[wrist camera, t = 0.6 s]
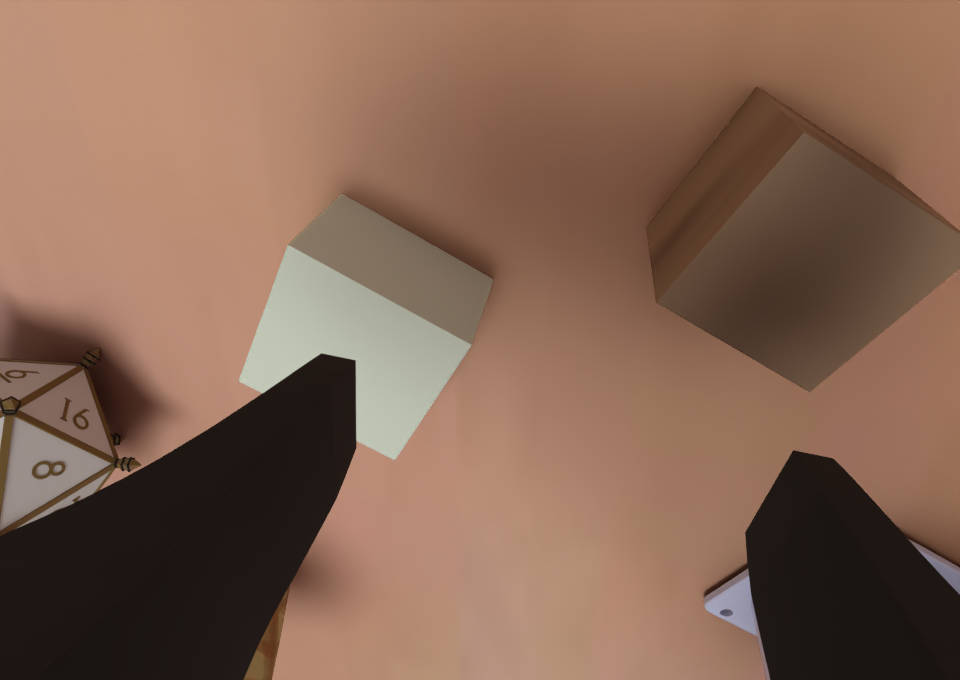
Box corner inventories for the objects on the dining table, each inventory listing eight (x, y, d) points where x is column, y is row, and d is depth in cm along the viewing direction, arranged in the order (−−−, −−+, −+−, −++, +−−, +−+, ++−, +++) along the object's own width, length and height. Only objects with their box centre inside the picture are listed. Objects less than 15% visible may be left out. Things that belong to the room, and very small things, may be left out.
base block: (494, 277, 19) (471, 345, 16) (425, 384, 22) (394, 460, 19) (343, 191, 19) (287, 244, 15) (294, 315, 22) (238, 381, 18)
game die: (99, 313, 28) (-199, 283, 19) (223, 391, 25) (-56, 402, 16) (37, 479, 29) (-277, 529, 20) (151, 573, 26) (-154, 684, 17)
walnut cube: (894, 177, 16) (982, 249, 12) (768, 300, 18) (809, 392, 14) (756, 86, 15) (804, 132, 11) (646, 227, 18) (656, 302, 14)
